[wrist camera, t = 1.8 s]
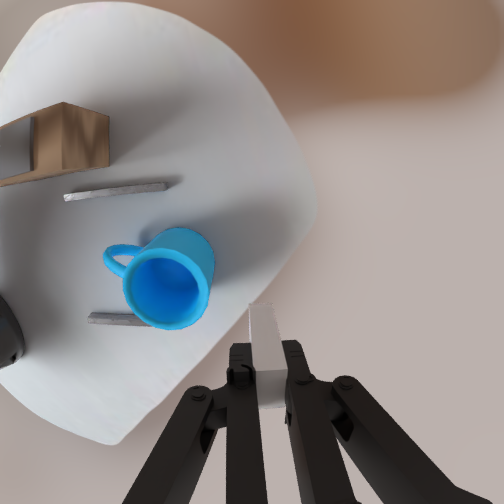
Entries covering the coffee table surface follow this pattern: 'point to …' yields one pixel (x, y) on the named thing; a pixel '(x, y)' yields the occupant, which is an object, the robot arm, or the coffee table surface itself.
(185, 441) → the robot arm
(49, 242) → the coffee table surface
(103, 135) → the end cabinet
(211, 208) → the coffee table surface
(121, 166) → the coffee table surface
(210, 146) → the coffee table surface
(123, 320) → the pair of gray bars
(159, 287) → the mug
